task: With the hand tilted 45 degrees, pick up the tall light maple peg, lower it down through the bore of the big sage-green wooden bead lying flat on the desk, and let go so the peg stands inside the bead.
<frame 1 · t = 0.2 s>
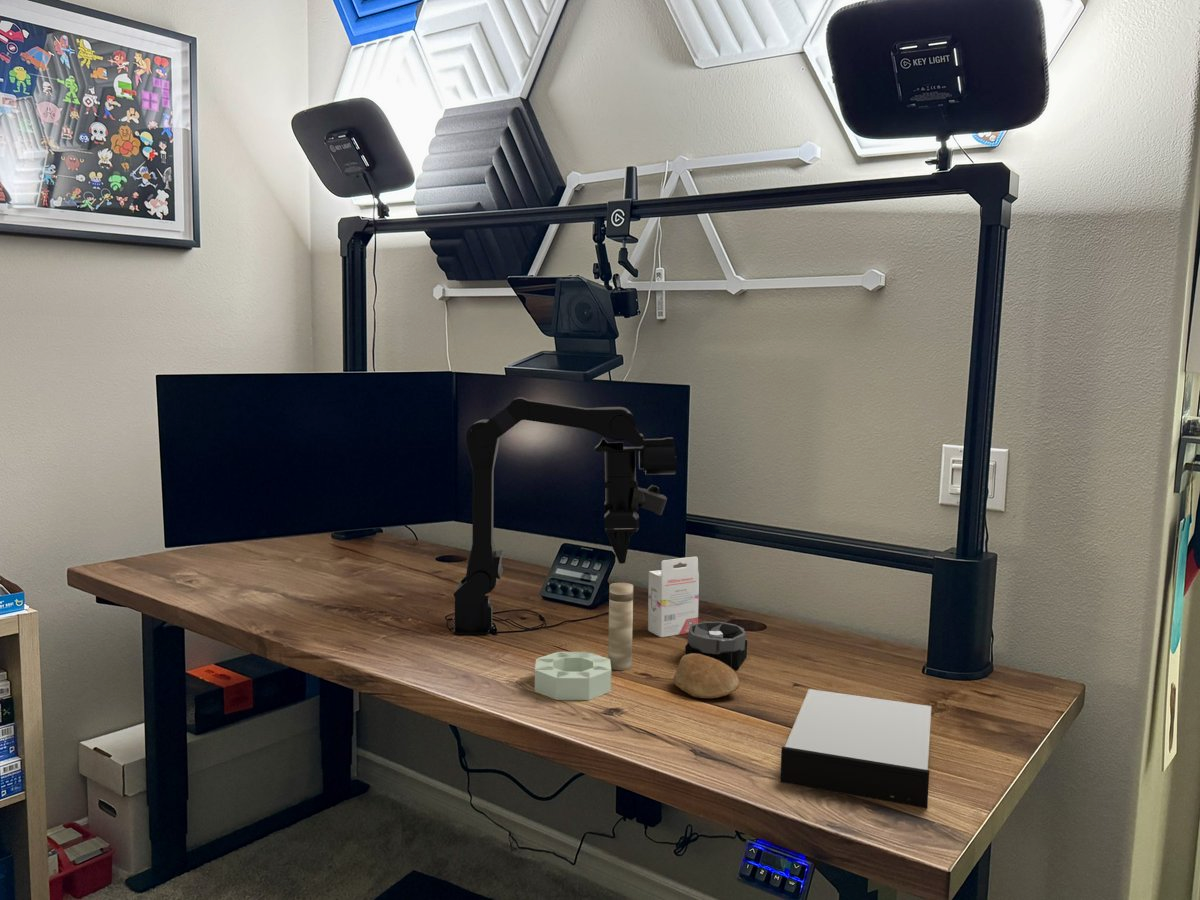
hand: (621, 557, 175), 14 cm above the table, fingers open, 9 cm apart
maple peg: (619, 666, 159), on the table
sage bead: (572, 685, 149), on the table
ink cartridge box: (672, 632, 178), on the table
stone: (705, 693, 148), on the table
disc drive: (859, 762, 126), on the table
cpu cooler: (716, 662, 162), on the table
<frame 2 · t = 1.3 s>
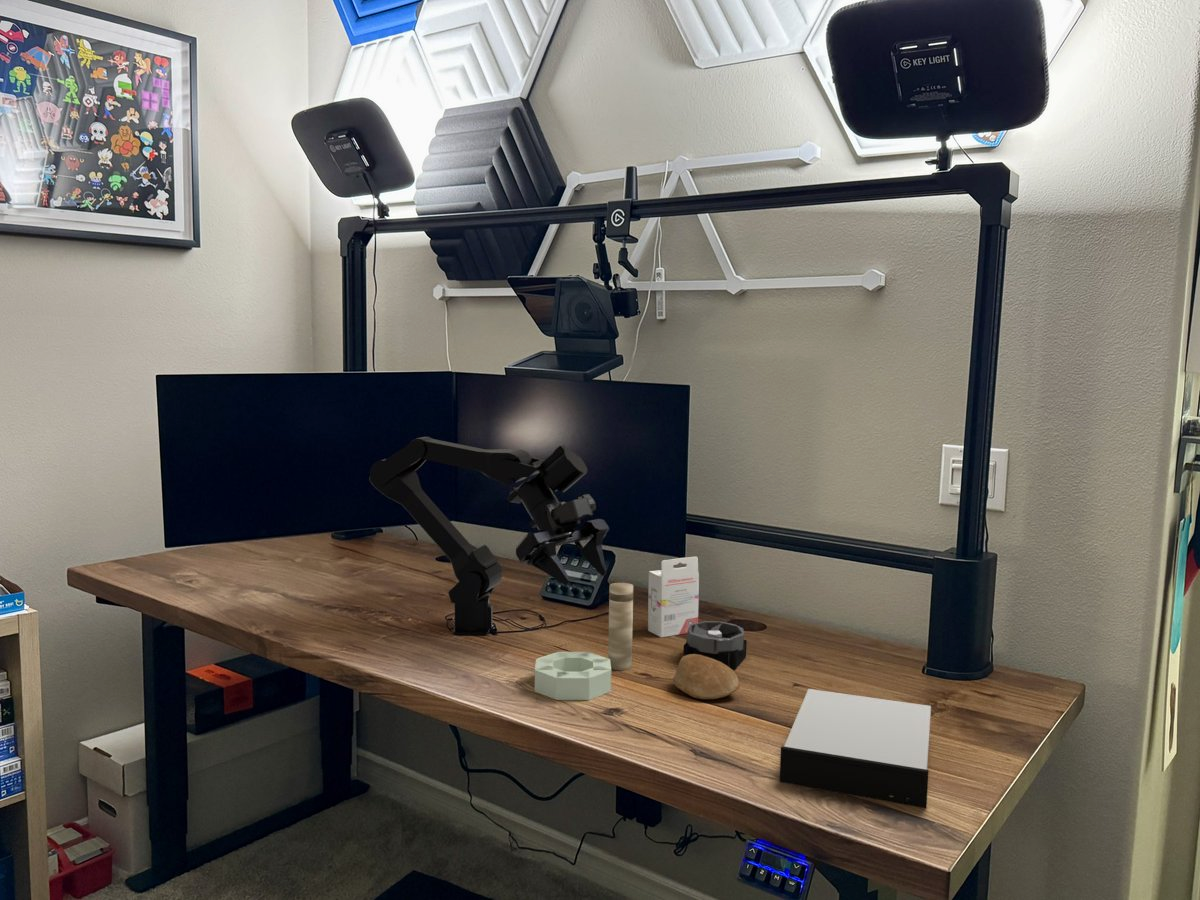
hand: (586, 579, 163), 14 cm above the table, fingers open, 9 cm apart
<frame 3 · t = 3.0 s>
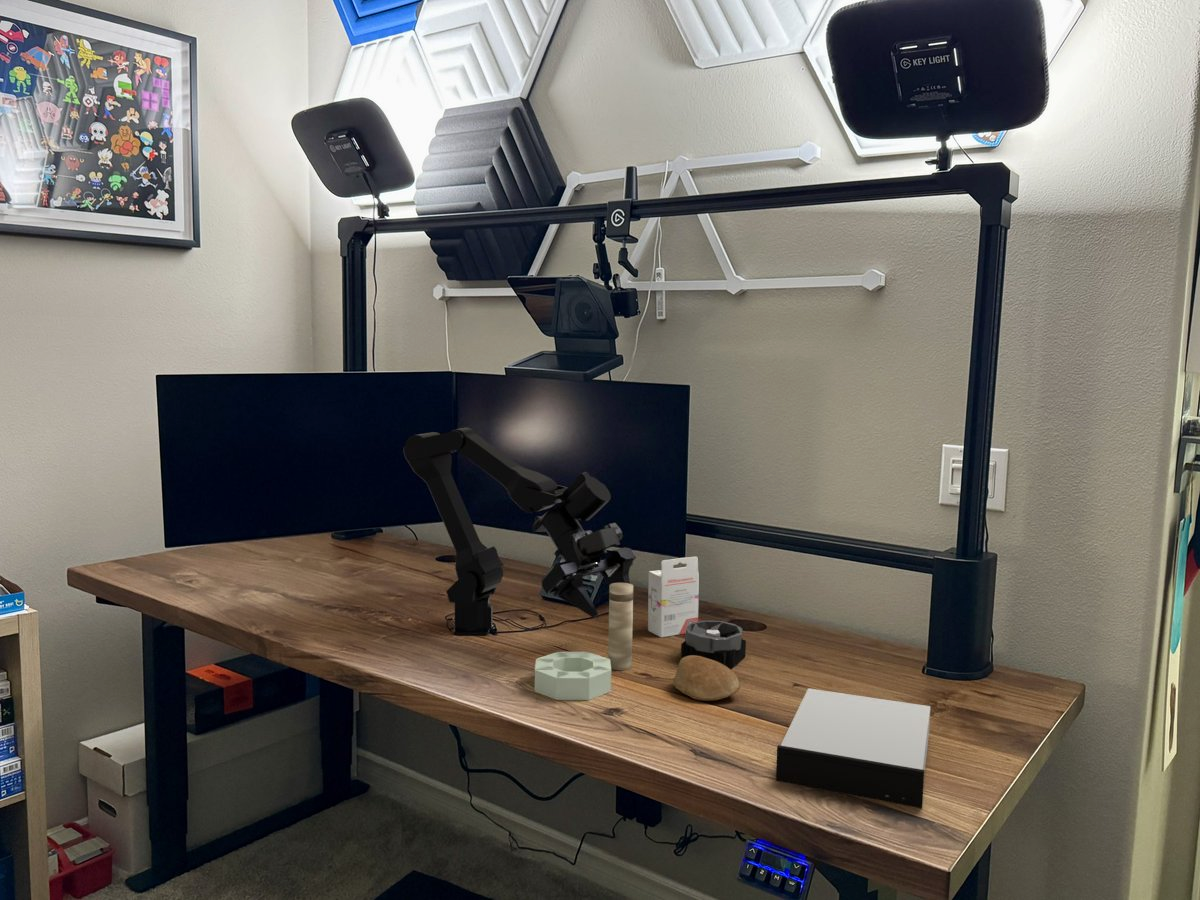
hand: (614, 610, 159), 9 cm above the table, fingers open, 9 cm apart
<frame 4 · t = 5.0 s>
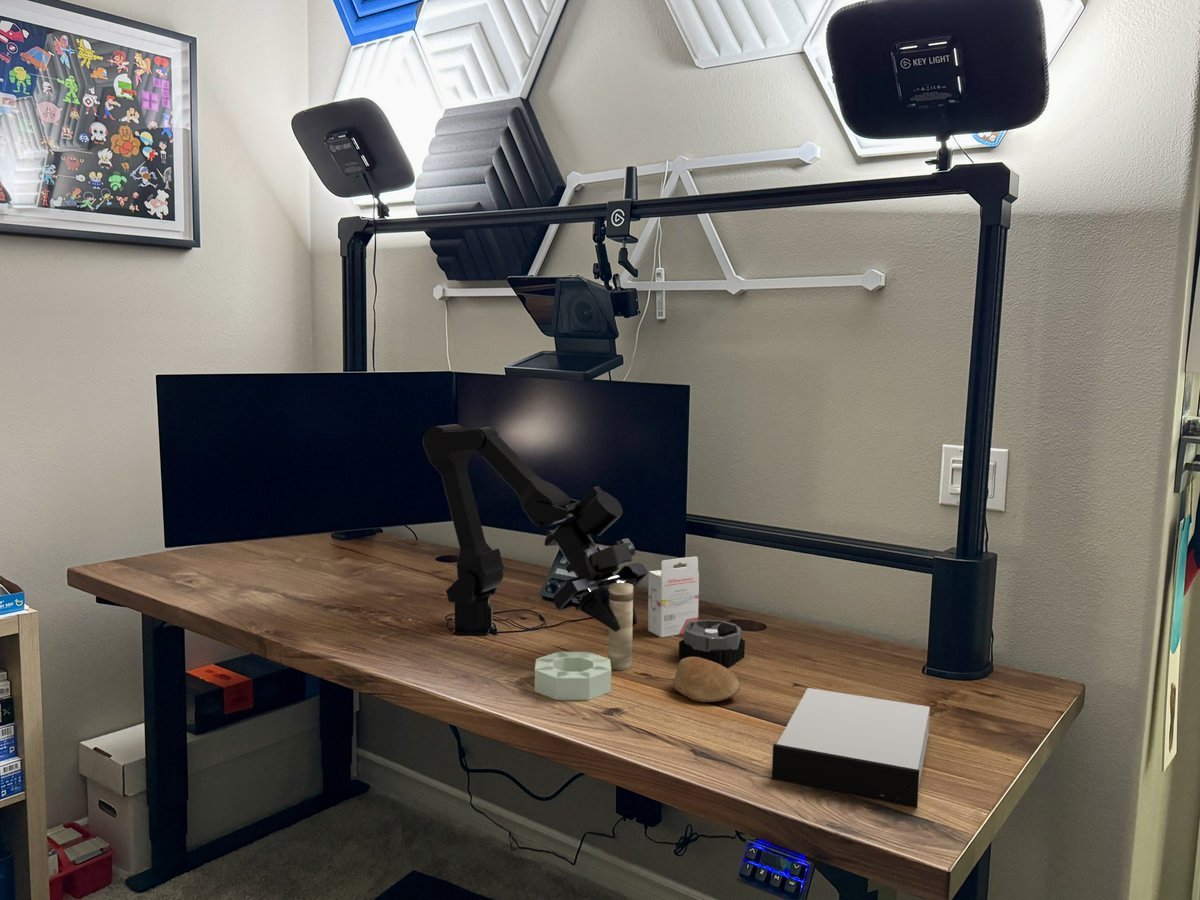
hand: (626, 627, 157), 7 cm above the table, fingers closed on maple peg, 4 cm apart
maple peg: (619, 666, 159), on the table, touching gripper
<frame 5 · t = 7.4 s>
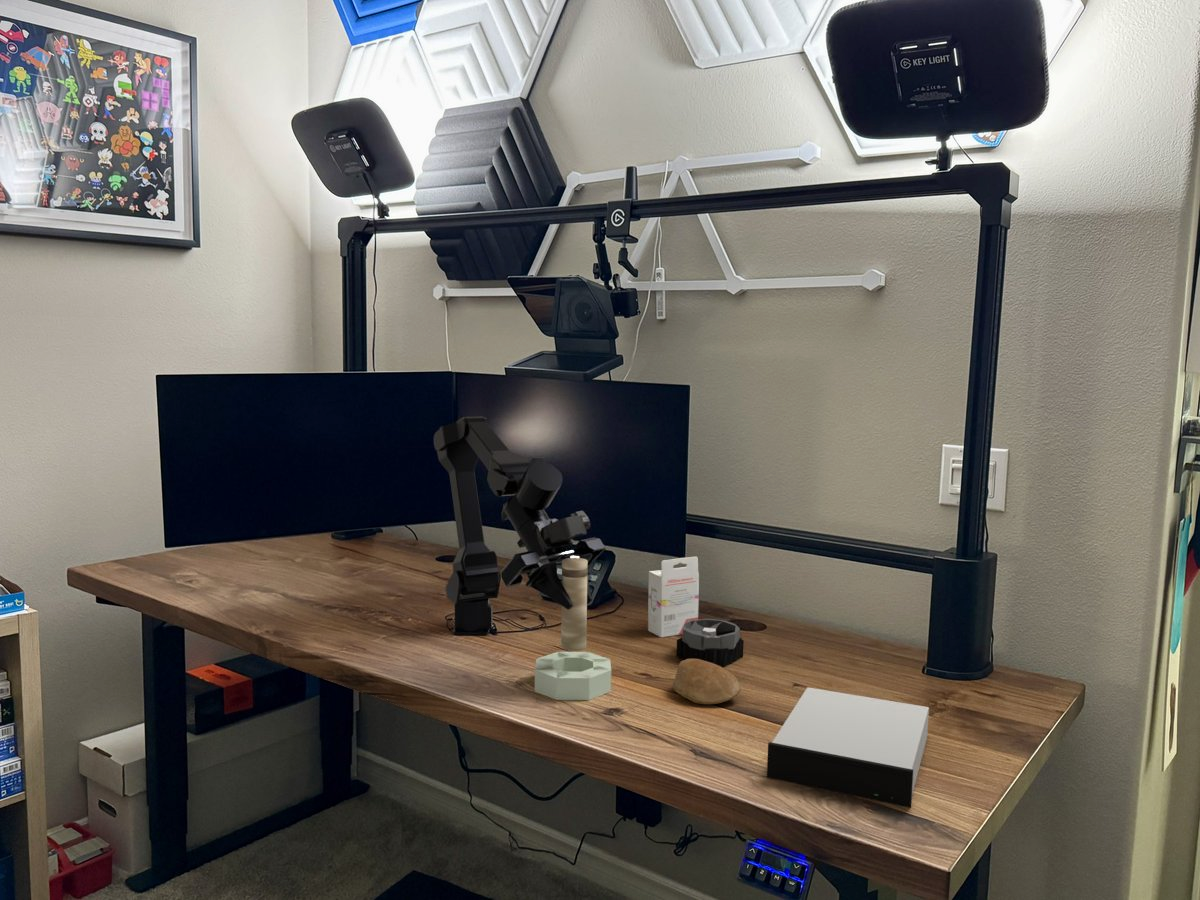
hand: (580, 605, 147), 13 cm above the table, fingers closed on maple peg, 4 cm apart
maple peg: (573, 646, 149), point 6 cm above the table, touching gripper
when the fingers open (8 cm above the table, at t = 9.9 s): maple peg drops 1 cm, resting in sage bead.
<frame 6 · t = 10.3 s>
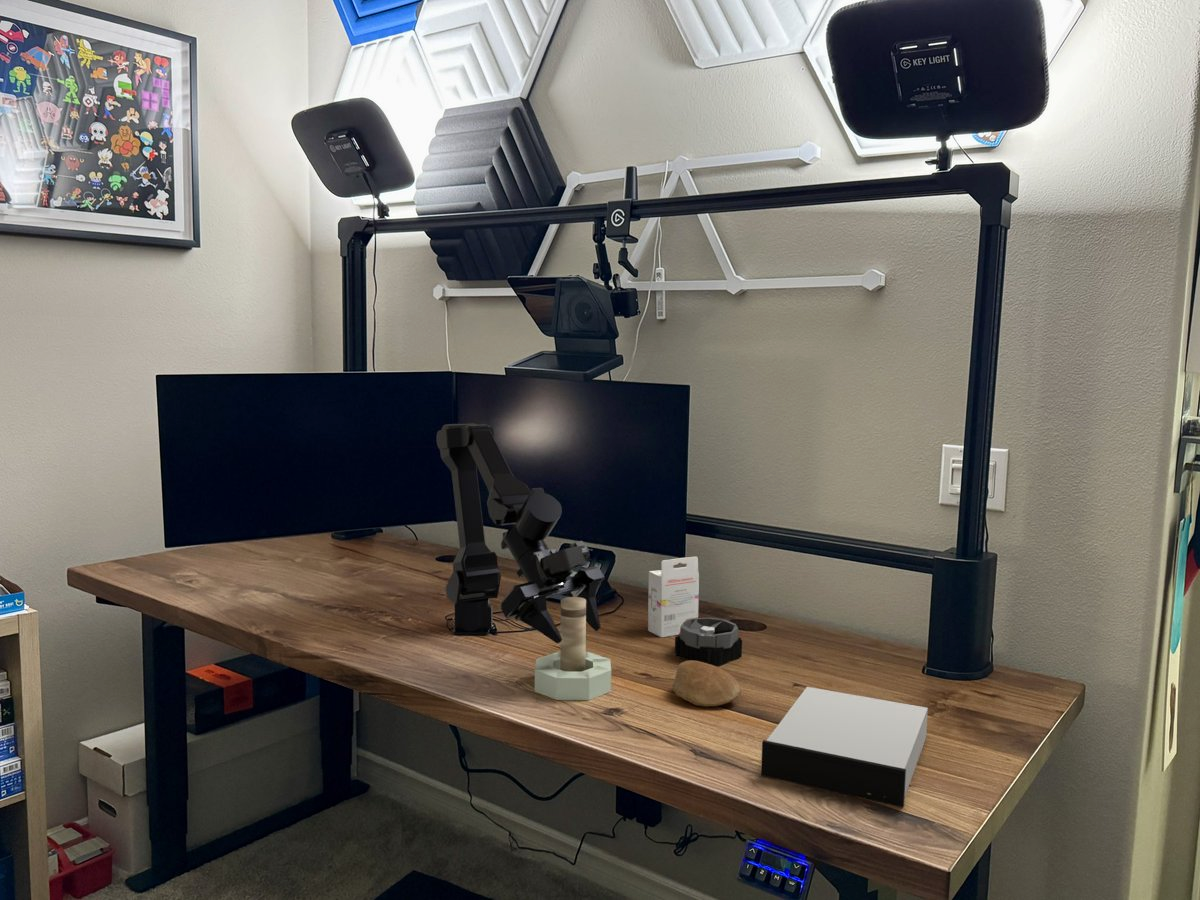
hand: (579, 635, 147), 9 cm above the table, fingers open, 8 cm apart
maple peg: (572, 685, 150), resting in sage bead
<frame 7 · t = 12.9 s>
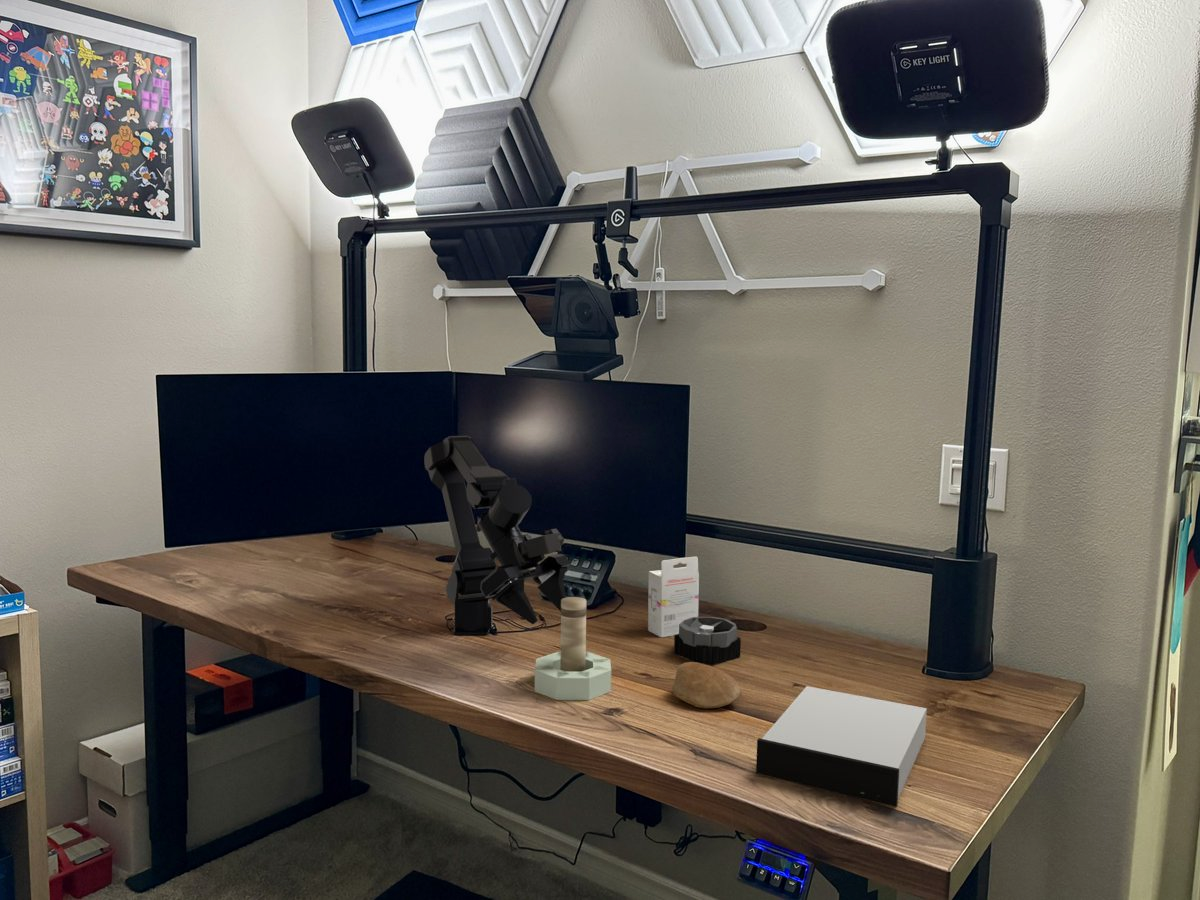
hand: (551, 617, 156), 9 cm above the table, fingers open, 9 cm apart
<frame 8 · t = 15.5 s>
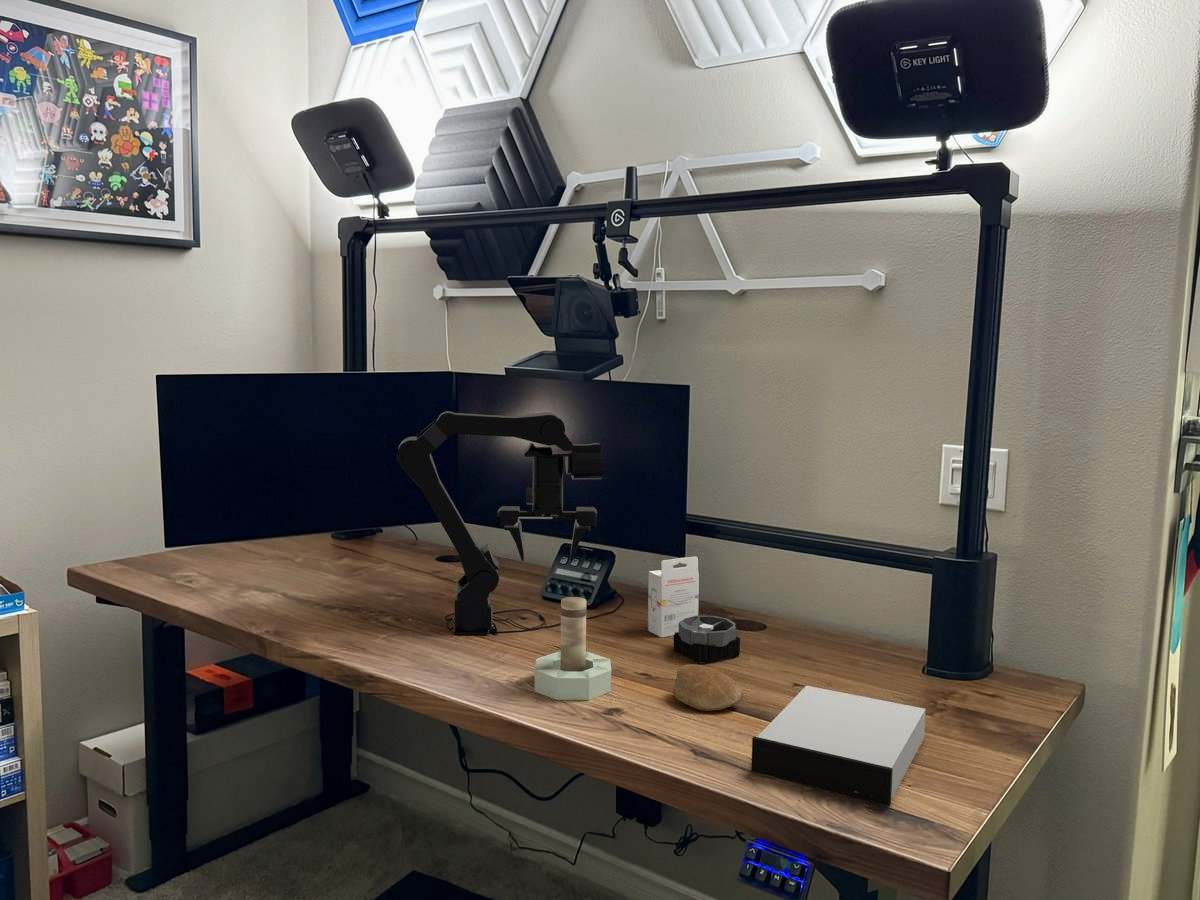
hand: (547, 560, 178), 13 cm above the table, fingers open, 9 cm apart
at the end: maple peg 0.0 cm from the sage bead (horizontally); maple peg resting in sage bead; the gripper is holding nothing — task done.
